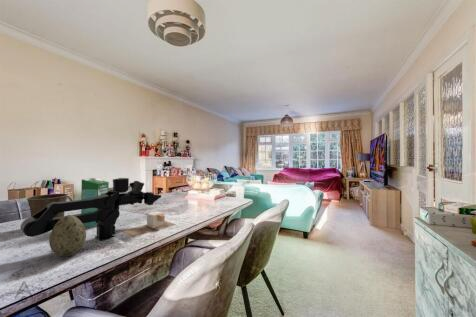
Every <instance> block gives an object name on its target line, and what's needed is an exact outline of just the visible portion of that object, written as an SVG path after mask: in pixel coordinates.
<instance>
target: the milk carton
mask: <svg viewBox="0 0 476 317" xmlns="http://www.w3.org/2000/svg"><path fill="white" fill-rule="evenodd" d="M109 183H110V182H109V181H105V180H104V179H102V178H95V177H90V178H84V179H81V199H80V200H82V199H90V198H93V197H96V196H99V195H103V194H106V193H107V192H108V191H110V188H109ZM96 210H98V208H88V209H80V212H81V213H80V214H82V213H88V212H94V211H96ZM83 225H84V227H96V228H97V225H98V223H96V221H93V222H88V223H83Z"/></svg>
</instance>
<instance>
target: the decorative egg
mask: <svg viewBox="0 0 476 317" xmlns="http://www.w3.org/2000/svg"><path fill="white" fill-rule="evenodd" d="M73 215H74V214H67V215H64V217H62V218H61V219H60V220H59V221H58V222H57V223H56V224H55V226H54V228H53V229H52V230H51V231H50V235H49V238H48V239H49V240H48V242H49V243H48V244H49V247H50V249H51V251H52V252H53V254H55V255H58V256H60V257H69V256H72V255H74V254H76V253H78V252H79V251H80V250H81V249H82V248H83V246H84V245H85V242H86V239H87V231H86V228H85V227H86V226H84V225H83V223H82V222H81V221H80V220H79V219H78V218H77V217H75V216H73Z"/></svg>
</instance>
